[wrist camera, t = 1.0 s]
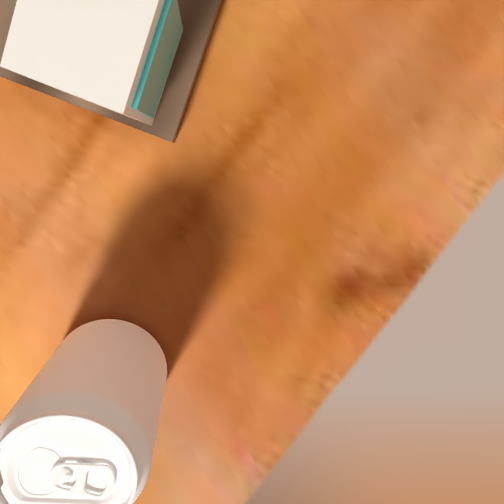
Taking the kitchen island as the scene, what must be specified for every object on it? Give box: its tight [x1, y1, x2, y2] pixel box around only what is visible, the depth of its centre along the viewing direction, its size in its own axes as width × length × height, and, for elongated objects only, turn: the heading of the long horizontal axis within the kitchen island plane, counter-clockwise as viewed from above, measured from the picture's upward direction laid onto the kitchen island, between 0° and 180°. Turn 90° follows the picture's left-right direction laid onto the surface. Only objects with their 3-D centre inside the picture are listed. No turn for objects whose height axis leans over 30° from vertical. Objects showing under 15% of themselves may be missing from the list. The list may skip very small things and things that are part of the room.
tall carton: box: [0, 0, 183, 126], centre depth 23 cm, size 5×6×10 cm
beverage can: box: [0, 319, 167, 504], centre depth 28 cm, size 8×8×12 cm
